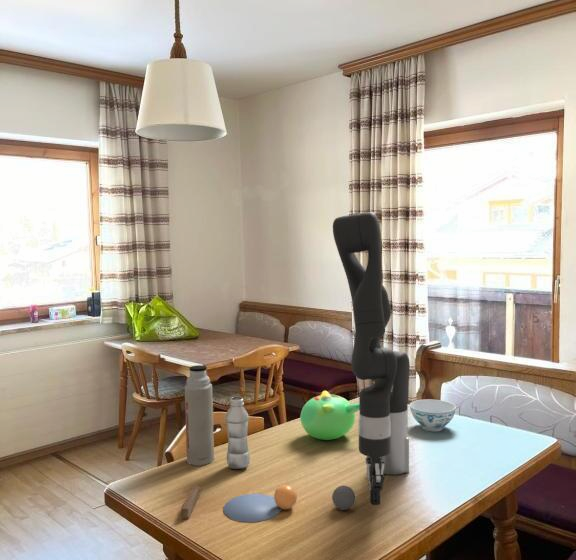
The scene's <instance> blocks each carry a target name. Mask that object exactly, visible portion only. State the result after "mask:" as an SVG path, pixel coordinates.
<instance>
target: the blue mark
mask: <svg viewBox="0 0 576 560" xmlns="http://www.w3.org/2000/svg"><path fill="white" fill-rule="evenodd" d="M281 511H282V509H281V508H279V507H278V506H277V505H276V503H275V501H274V496H271V495H268V494H263V493H249V494H242V495H239V496H236V497H233V498H232V499H229V500H228V501H227V502H225V504H224V506H223V513H224V515H225V516H226V517H227V518H229V519H232V520H233V521H237V522H242V523H257V522H263V521H267V520H270V519H272V518H274V517H276V516H277V515H279V514H280V512H281Z"/></svg>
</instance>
